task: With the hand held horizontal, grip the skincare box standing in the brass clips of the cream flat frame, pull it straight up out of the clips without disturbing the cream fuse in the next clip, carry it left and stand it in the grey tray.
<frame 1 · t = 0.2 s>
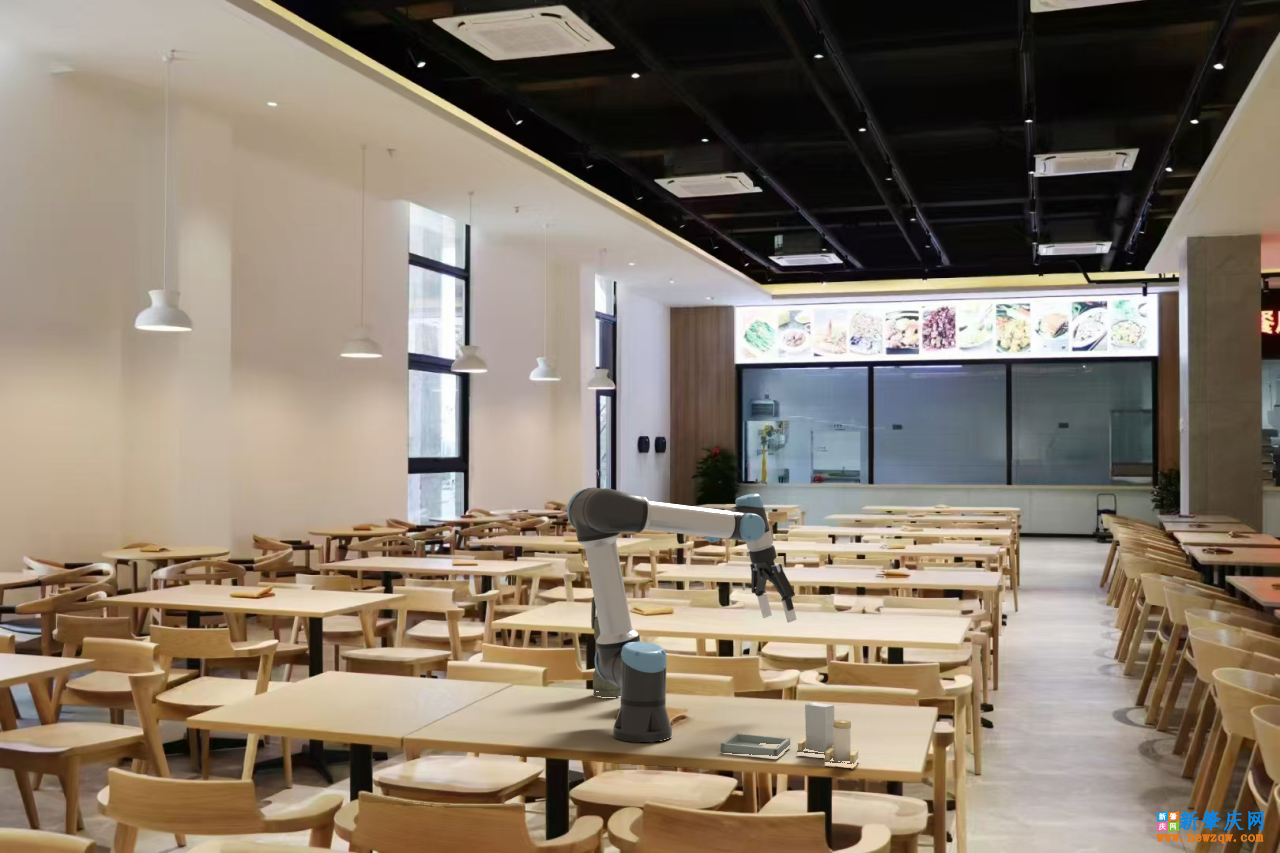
hand: (779, 618, 330), 27 cm above the table, tool tilted 15°, fingers open, 13 cm apart
cream flat frame: (819, 754, 281), on the table
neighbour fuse: (841, 764, 271), resting in cream flat frame
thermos: (607, 696, 353), on the table
tray: (755, 751, 283), on the table
skincare box: (819, 755, 281), resting in cream flat frame
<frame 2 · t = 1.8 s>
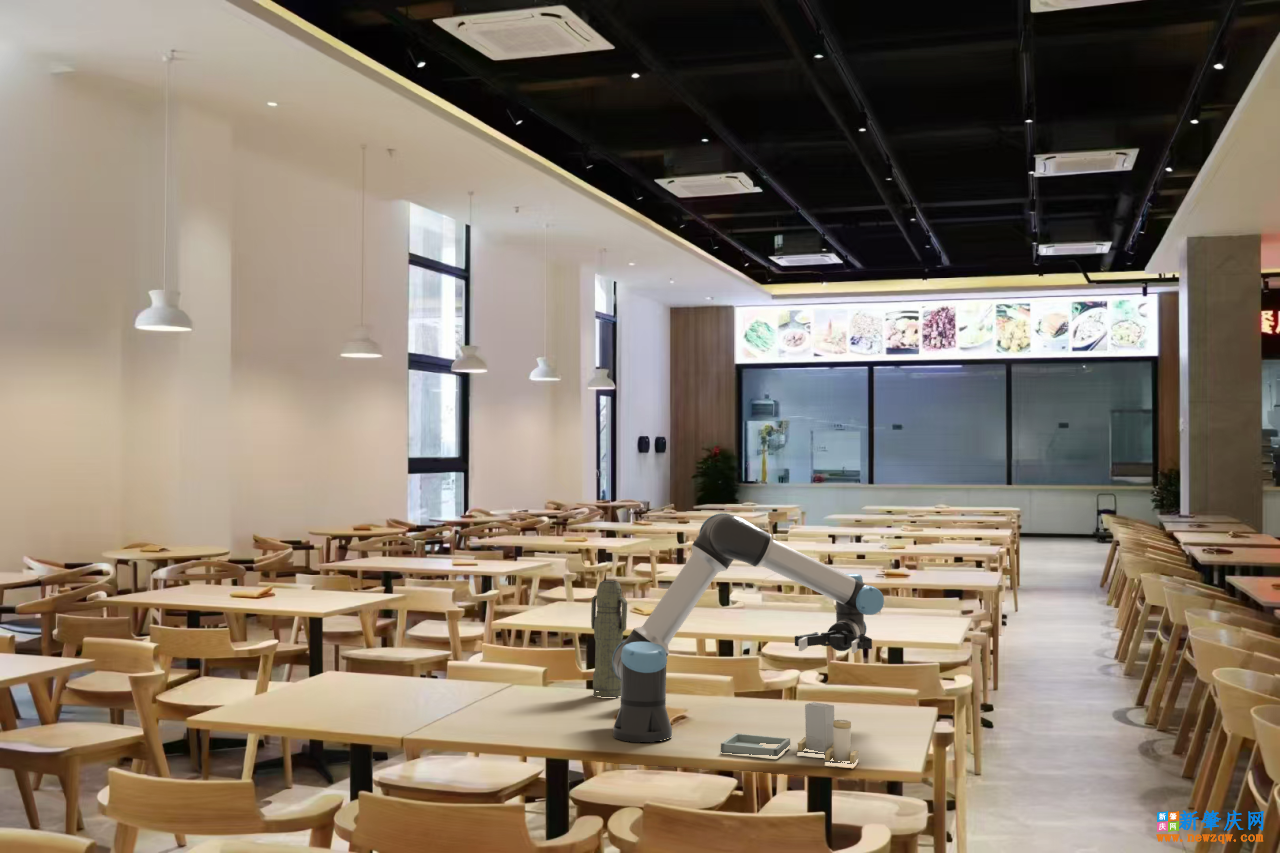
hand: (826, 646, 292), 25 cm above the table, tool horizontal, fingers open, 13 cm apart
nothing on the table moved.
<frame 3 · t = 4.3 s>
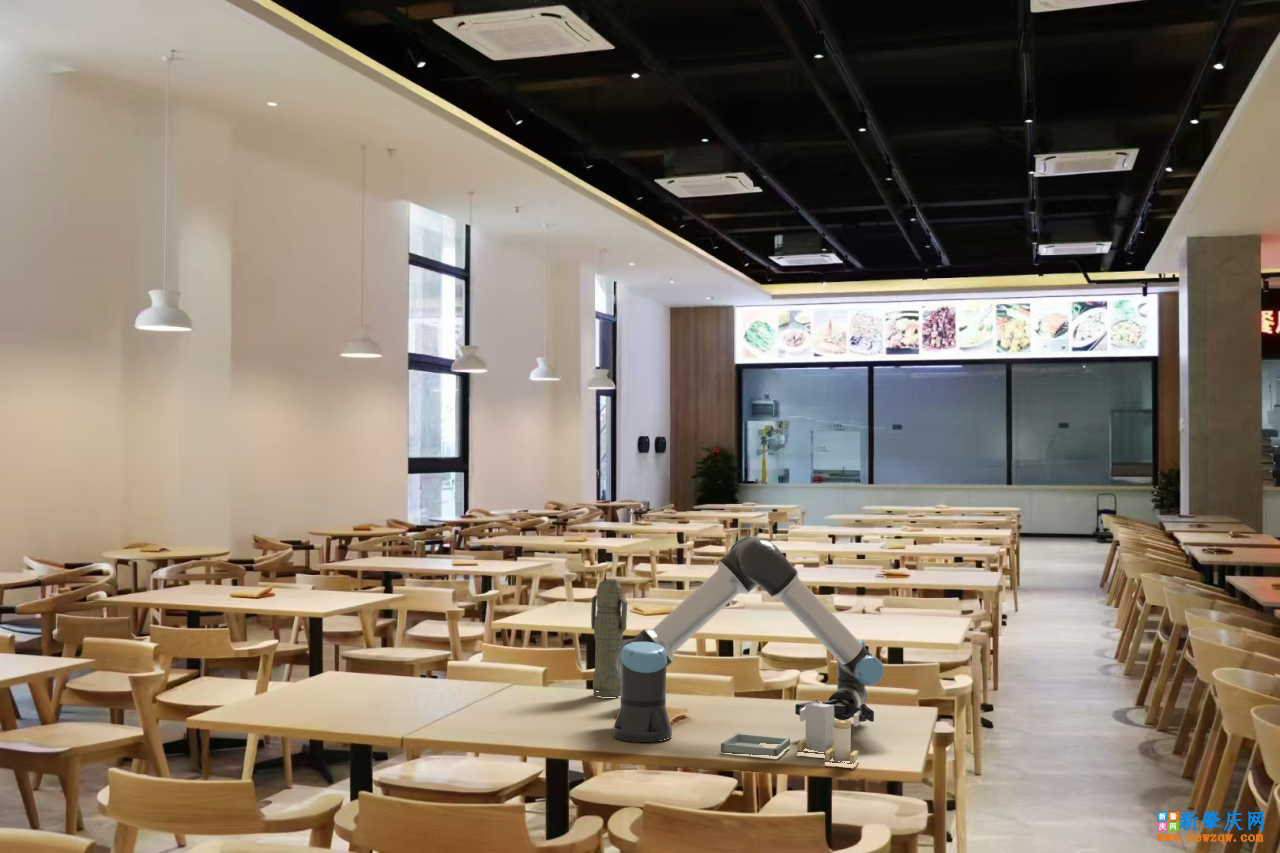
hand: (827, 718, 288), 7 cm above the table, tool horizontal, fingers open, 13 cm apart
nothing on the table moved.
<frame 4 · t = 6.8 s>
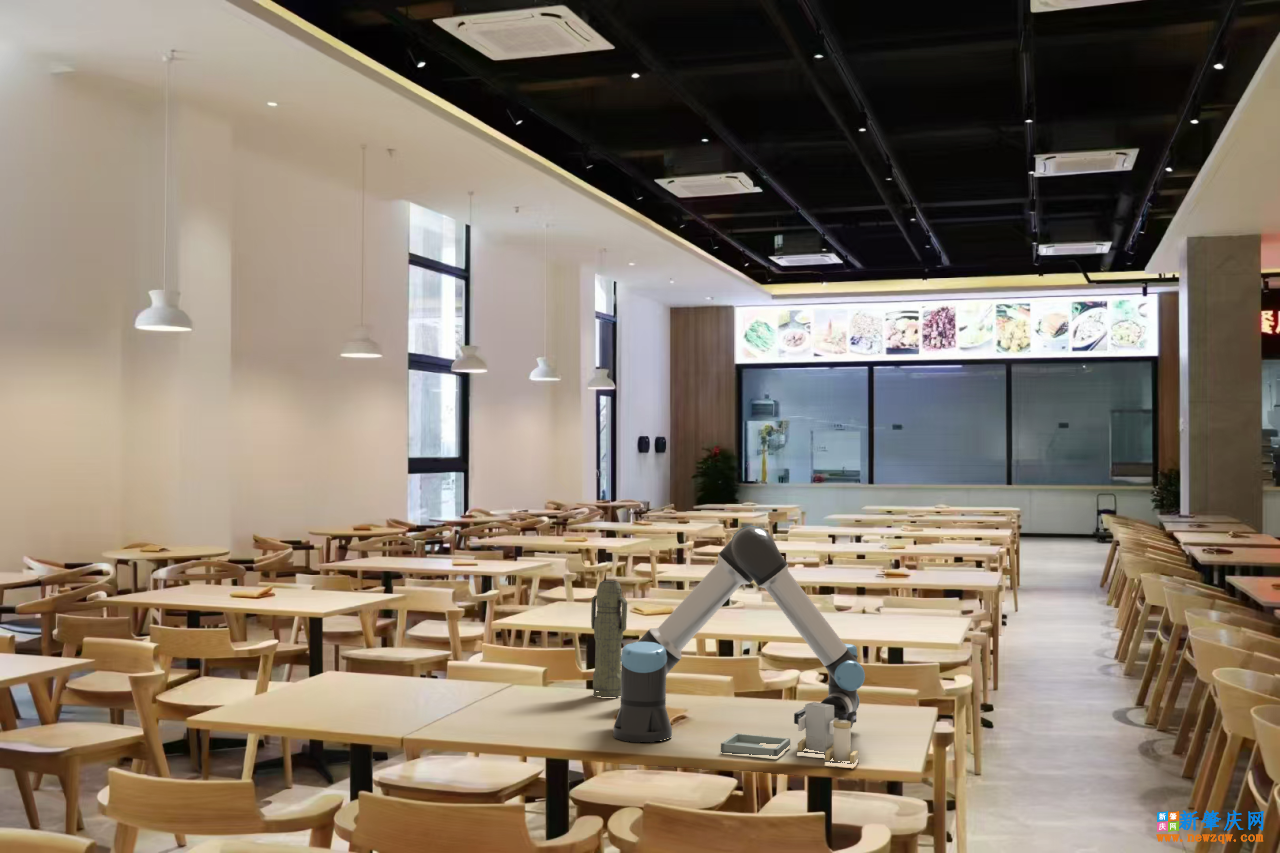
hand: (815, 726, 277), 8 cm above the table, tool horizontal, fingers closed on skincare box, 7 cm apart
skincare box: (819, 755, 281), resting in cream flat frame, touching gripper
everything else where it was.
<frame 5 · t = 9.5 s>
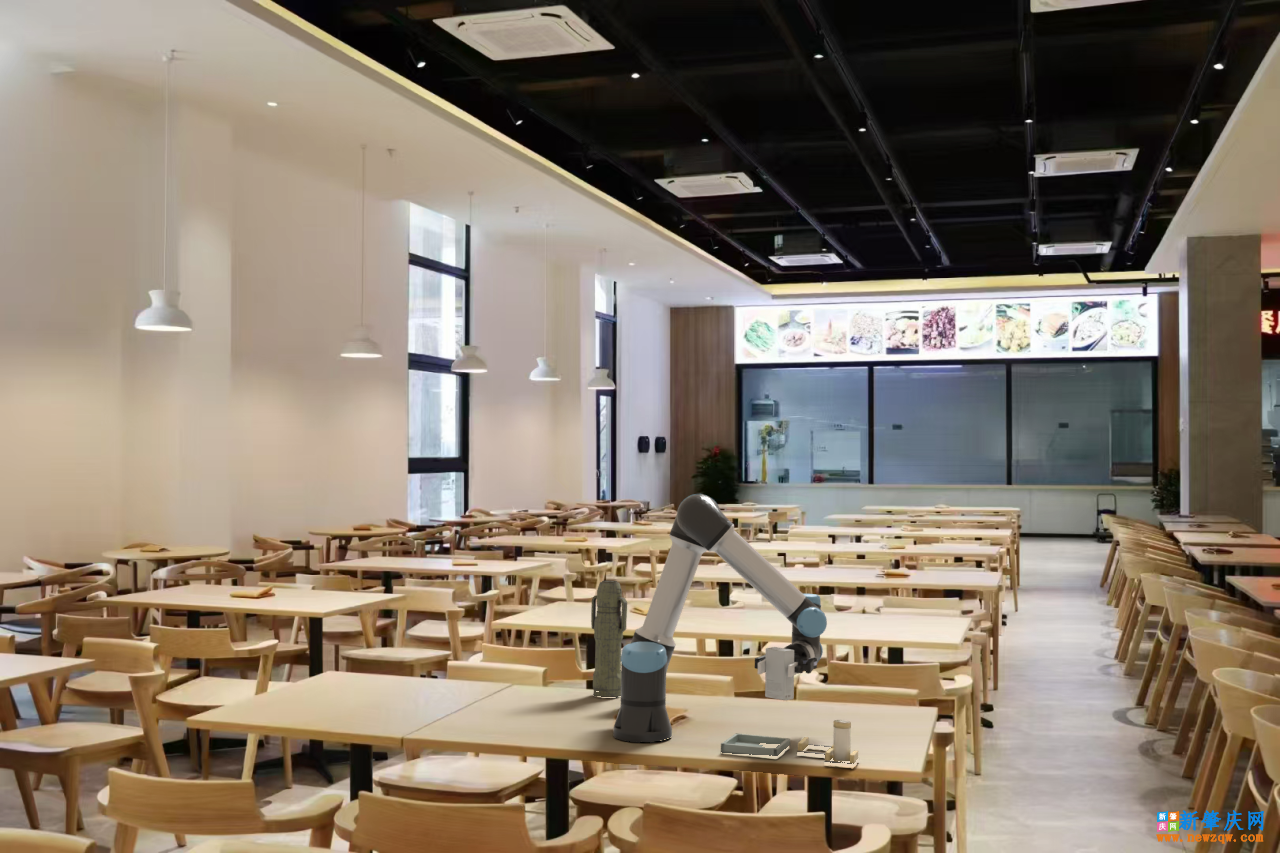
hand: (774, 670, 279), 21 cm above the table, tool horizontal, fingers closed on skincare box, 7 cm apart
skincare box: (778, 699, 283), point 13 cm above the table, touching gripper
everything else where it was.
when the fingers open (10 cm above the table, at t = 12.4 s): skincare box drops 1 cm, resting on tray.
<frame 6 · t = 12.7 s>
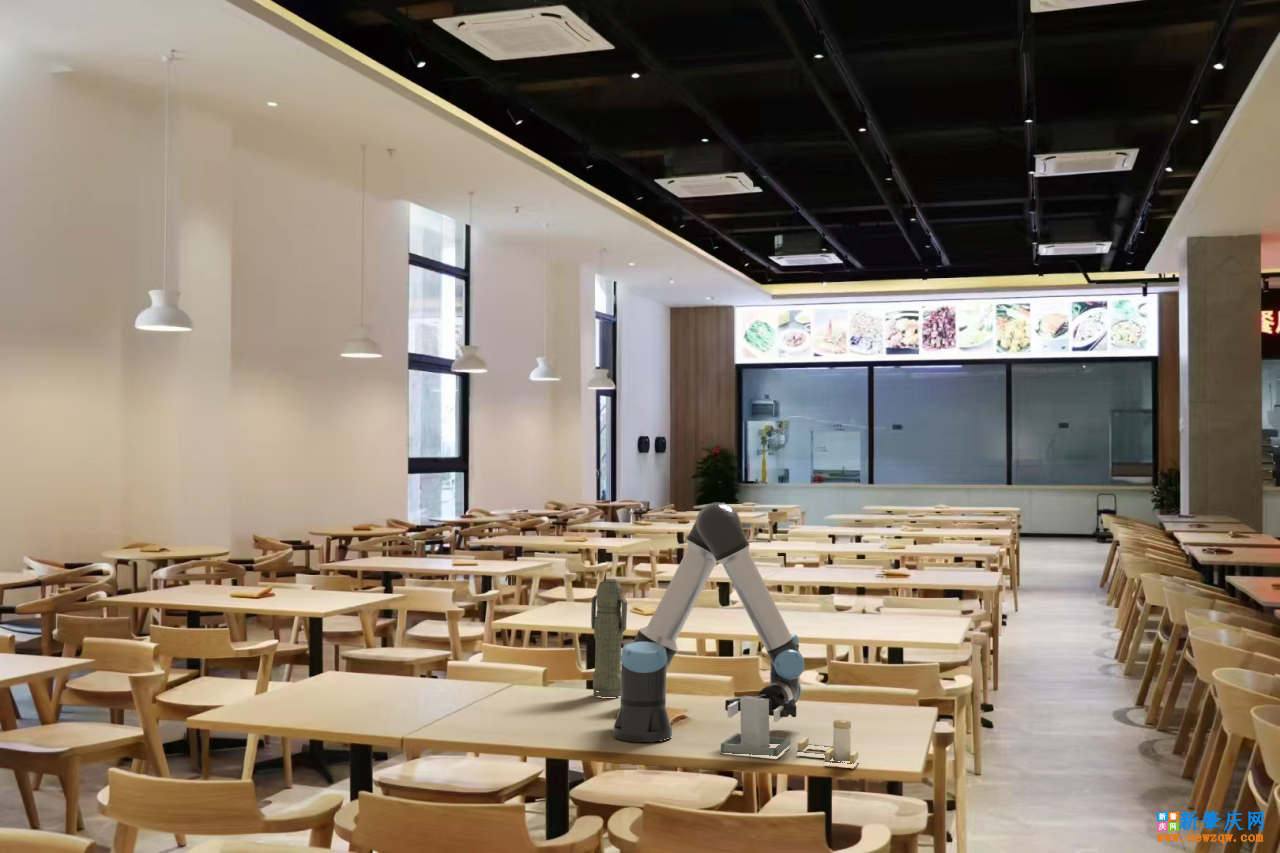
hand: (751, 714, 280), 10 cm above the table, tool horizontal, fingers open, 11 cm apart
skincare box: (754, 748, 283), point 1 cm above the table, touching tray
everything else where it was.
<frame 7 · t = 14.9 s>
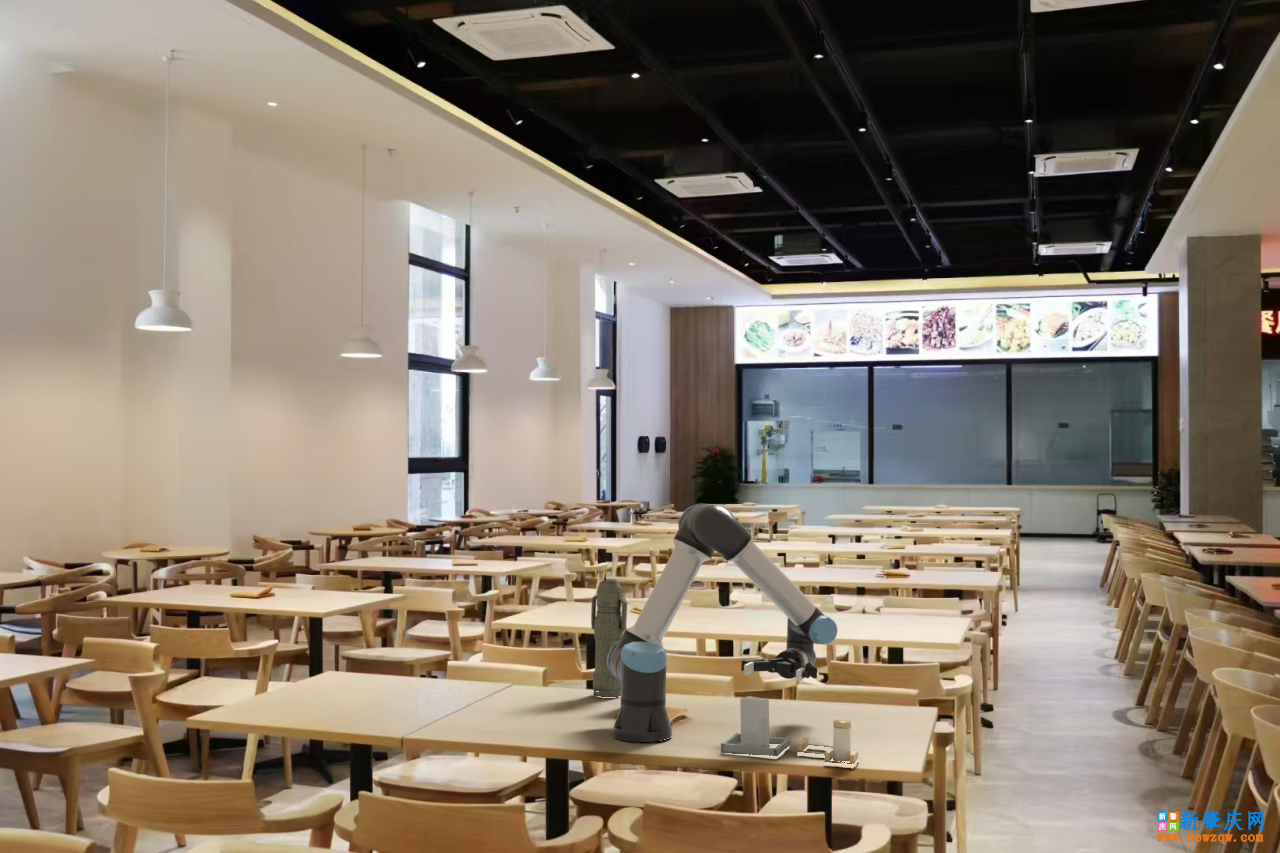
hand: (771, 673, 293), 18 cm above the table, tool horizontal, fingers open, 13 cm apart
nothing on the table moved.
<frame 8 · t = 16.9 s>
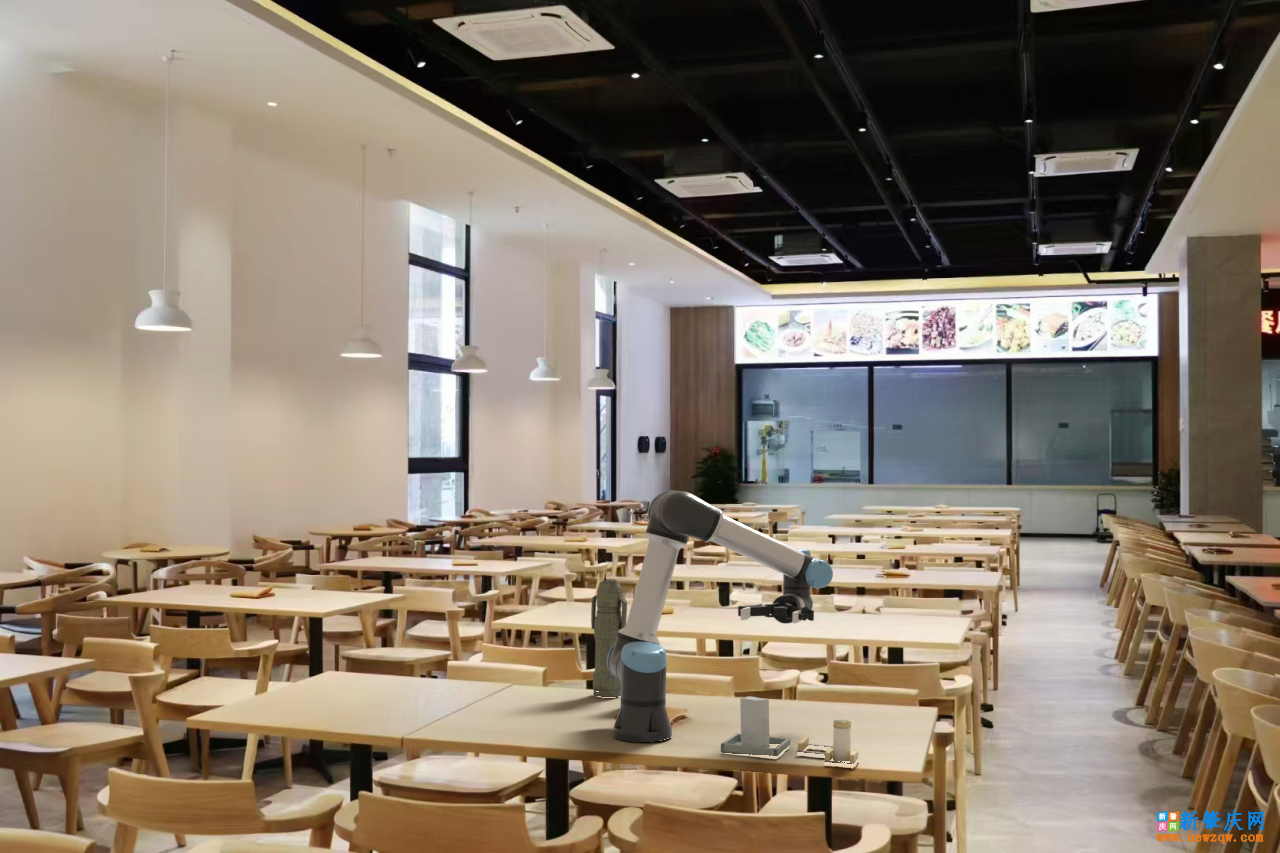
hand: (767, 616, 294), 32 cm above the table, tool horizontal, fingers open, 13 cm apart
nothing on the table moved.
at the end: skincare box inside the target area on the tray (0.3 cm from its centre), point 0.6 cm above the tray's base; skincare box tilted 0°; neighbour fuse moved 0.0 cm from its start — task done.
